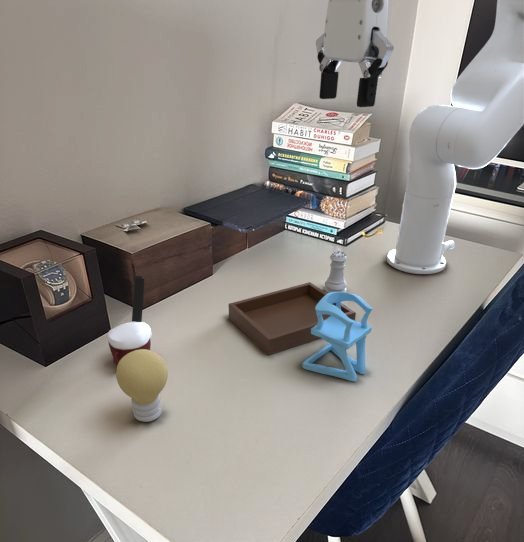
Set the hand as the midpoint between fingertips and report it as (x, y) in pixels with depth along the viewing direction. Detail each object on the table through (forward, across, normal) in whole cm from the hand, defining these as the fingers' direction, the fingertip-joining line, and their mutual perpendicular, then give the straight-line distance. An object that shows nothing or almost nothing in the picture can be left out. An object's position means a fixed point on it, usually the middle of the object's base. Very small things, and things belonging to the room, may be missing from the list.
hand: (345, 102), depth 83 cm
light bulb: (+34, -19, +44) cm, 59 cm away
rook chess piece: (+34, -2, -1) cm, 34 cm away
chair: (+34, -23, +15) cm, 44 cm away
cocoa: (+34, -5, +41) cm, 54 cm away
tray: (+34, -8, +14) cm, 37 cm away
